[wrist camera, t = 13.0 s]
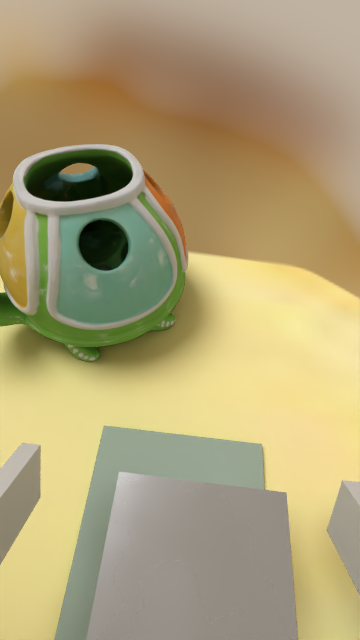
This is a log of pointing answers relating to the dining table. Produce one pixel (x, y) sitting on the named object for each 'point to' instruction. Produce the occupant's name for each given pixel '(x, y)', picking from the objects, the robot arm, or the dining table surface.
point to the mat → (155, 460)
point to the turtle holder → (89, 249)
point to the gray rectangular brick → (194, 563)
